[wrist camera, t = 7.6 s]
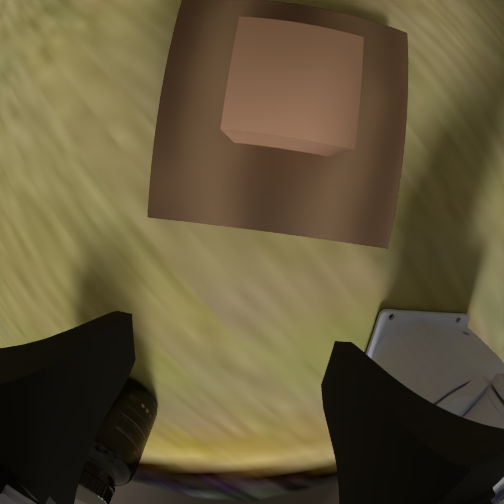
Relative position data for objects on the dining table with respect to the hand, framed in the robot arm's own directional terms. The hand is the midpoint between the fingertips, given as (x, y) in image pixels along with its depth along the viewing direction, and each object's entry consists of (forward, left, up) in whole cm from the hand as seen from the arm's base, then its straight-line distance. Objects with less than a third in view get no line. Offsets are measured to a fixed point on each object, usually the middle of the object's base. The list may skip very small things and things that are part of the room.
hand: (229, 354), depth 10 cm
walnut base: (-1, -10, -10) cm, 14 cm away
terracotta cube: (-1, -10, -7) cm, 12 cm away
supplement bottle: (+10, +15, -11) cm, 21 cm away
